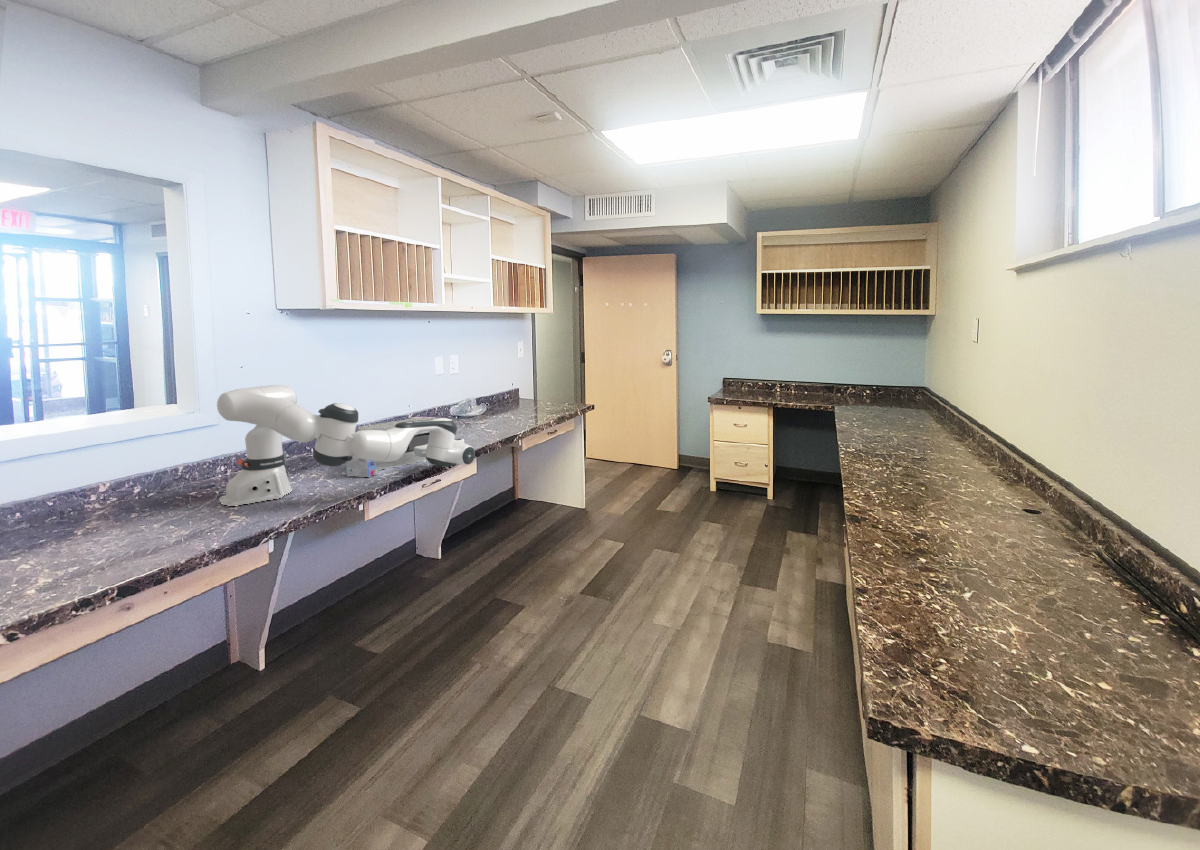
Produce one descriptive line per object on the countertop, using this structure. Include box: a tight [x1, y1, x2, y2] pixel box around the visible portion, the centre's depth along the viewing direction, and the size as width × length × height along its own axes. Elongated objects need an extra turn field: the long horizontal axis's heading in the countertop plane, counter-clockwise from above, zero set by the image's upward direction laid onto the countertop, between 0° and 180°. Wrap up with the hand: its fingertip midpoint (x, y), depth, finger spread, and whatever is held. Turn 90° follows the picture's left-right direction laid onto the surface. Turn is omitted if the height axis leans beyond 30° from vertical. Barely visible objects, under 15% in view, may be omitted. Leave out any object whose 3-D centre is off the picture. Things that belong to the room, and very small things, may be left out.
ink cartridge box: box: [345, 455, 377, 478], centre depth 227 cm, size 10×6×14 cm, turn 79°
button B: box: [407, 434, 429, 451], centre depth 247 cm, size 10×5×5 cm, turn 137°
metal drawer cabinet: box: [357, 416, 431, 472], centre depth 245 cm, size 30×9×18 cm, turn 137°
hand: (428, 445), depth 242 cm, fingers closed
